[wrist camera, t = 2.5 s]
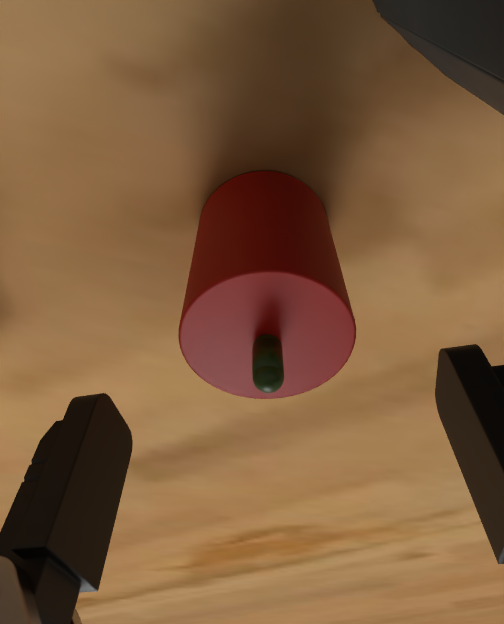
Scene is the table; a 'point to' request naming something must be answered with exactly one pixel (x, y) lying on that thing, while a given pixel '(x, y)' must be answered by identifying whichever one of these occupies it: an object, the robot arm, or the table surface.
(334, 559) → the table surface
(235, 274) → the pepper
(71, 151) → the table surface
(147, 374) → the table surface
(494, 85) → the pot
